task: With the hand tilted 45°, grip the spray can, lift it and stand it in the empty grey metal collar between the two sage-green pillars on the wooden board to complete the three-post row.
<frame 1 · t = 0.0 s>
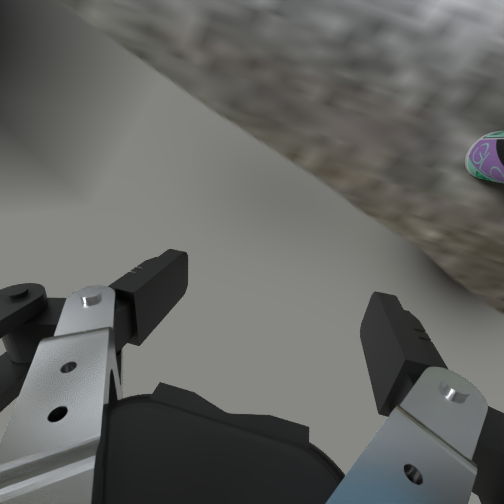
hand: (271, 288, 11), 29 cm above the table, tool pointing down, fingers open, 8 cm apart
spray can: (490, 155, 31), on the table
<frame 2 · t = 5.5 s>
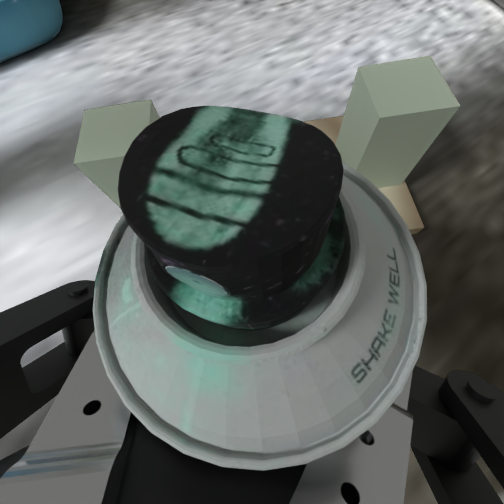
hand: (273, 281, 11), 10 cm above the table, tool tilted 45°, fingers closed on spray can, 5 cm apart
sage pillars: (260, 151, 21), on the wooden board, point 5 cm above the table
spray can: (269, 335, 20), on the table, touching gripper
wooden board: (262, 189, 26), on the table
when the fingers open (13 cm above the table, at t = 11.1 s): spray can drops 1 cm, resting on wooden board.
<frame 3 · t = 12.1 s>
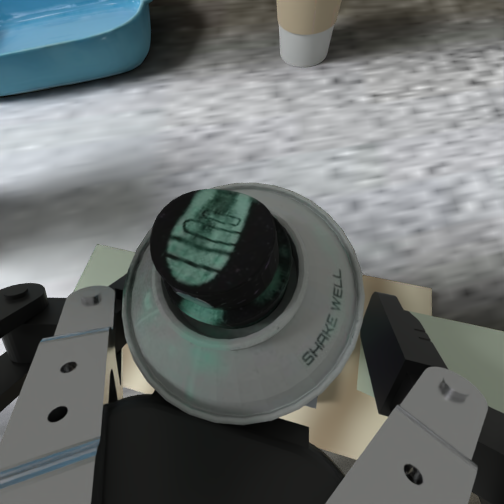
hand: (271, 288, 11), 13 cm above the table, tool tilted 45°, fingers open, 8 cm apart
sage pillars: (268, 330, 18), on the wooden board, point 5 cm above the table
coffee cup: (303, 53, 37), on the table
spray can: (269, 335, 22), point 1 cm above the table, touching wooden board
wooden board: (269, 334, 23), on the table
casserole dish: (68, 57, 42), on the table
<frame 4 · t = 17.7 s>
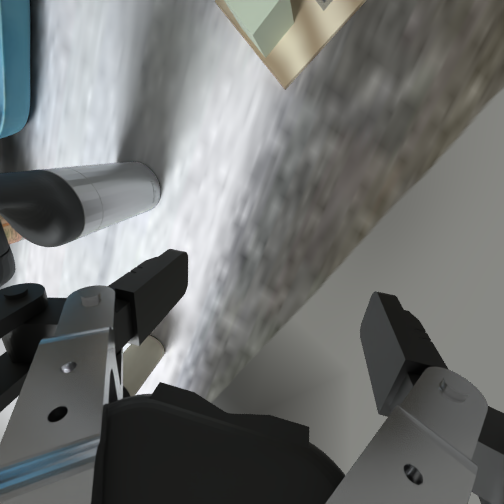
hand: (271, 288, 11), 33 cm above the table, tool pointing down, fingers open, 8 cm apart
travel mug: (151, 345, 64), on the table
fruit juice: (24, 216, 57), on the table
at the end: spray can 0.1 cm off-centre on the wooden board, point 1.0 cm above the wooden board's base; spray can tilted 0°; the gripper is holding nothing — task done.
